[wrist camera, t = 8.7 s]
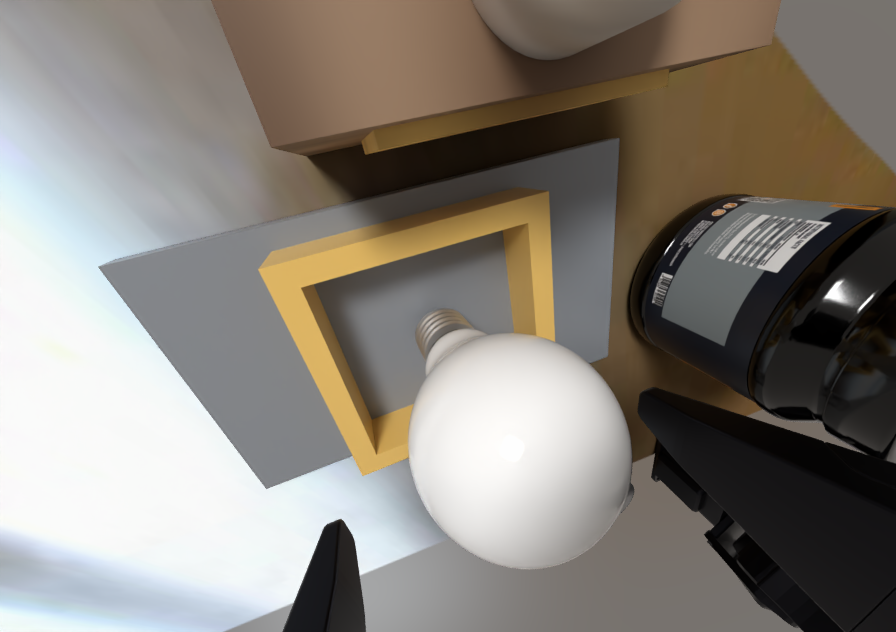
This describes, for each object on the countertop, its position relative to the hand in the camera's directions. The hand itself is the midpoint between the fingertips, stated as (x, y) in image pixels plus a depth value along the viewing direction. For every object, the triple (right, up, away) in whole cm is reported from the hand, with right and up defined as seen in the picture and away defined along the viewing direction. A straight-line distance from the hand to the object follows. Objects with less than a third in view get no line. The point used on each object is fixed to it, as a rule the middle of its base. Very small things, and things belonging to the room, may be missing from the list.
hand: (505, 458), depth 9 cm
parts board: (-3, +4, +8) cm, 10 cm away
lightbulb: (-2, +3, +8) cm, 9 cm away
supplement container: (+15, +7, +13) cm, 21 cm away
